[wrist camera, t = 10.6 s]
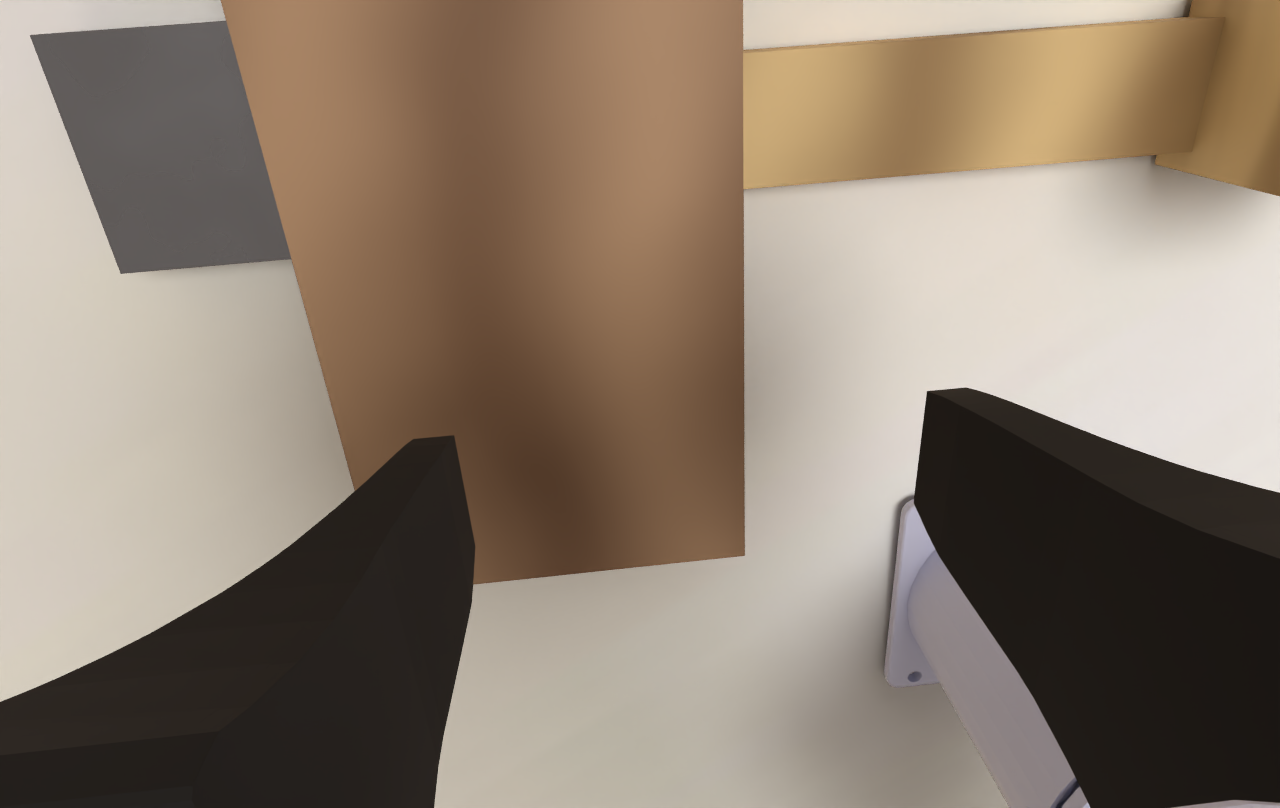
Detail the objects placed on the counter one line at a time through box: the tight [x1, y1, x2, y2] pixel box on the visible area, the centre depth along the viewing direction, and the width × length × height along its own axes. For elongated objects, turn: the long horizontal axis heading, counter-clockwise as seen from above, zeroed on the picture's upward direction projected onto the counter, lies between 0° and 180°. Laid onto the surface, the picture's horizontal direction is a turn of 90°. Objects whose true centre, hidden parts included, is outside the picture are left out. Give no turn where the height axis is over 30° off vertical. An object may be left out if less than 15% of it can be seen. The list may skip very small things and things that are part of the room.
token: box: [30, 21, 291, 274], centre depth 18 cm, size 5×5×2 cm
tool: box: [743, 0, 1280, 196], centre depth 16 cm, size 17×4×7 cm, turn 94°
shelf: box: [221, 0, 745, 584], centre depth 17 cm, size 9×20×4 cm, turn 4°
